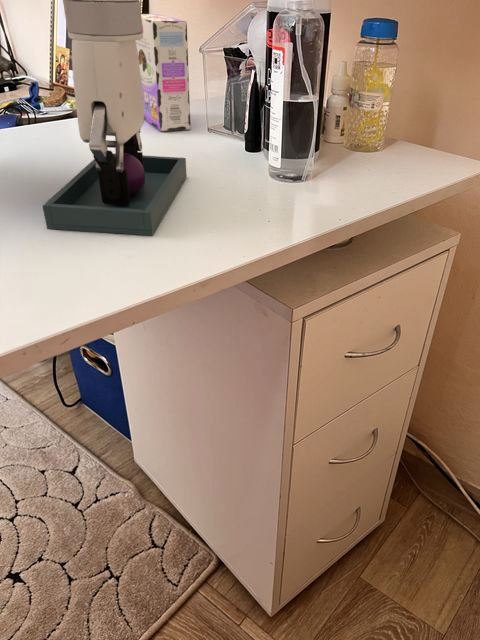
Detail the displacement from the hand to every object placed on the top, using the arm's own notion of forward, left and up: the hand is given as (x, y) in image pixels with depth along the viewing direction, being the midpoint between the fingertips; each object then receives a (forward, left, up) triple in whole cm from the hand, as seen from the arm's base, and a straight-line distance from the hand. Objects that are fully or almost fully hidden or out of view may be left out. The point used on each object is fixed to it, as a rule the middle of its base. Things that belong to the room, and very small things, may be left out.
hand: (124, 192), depth 65 cm
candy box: (-4, +39, -1) cm, 39 cm away
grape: (0, 0, 0) cm, 0 cm away
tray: (0, 0, -1) cm, 1 cm away
